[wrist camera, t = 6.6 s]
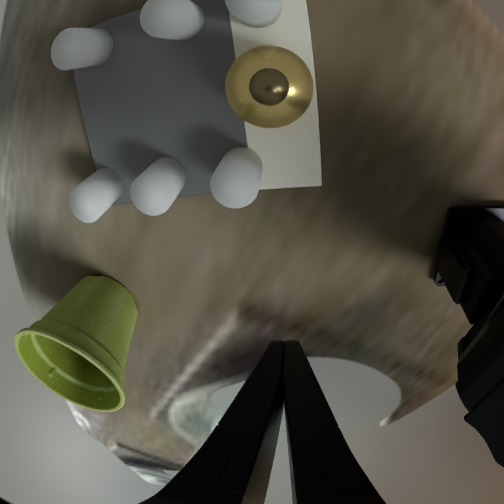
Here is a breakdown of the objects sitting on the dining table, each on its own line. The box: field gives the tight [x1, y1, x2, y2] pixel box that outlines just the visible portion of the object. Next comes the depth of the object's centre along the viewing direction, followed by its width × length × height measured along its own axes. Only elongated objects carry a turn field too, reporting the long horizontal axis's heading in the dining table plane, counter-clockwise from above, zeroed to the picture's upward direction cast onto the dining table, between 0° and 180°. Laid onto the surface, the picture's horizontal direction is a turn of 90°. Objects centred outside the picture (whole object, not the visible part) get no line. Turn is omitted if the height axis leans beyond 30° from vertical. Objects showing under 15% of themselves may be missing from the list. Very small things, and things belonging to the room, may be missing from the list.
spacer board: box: [51, 0, 322, 223], centre depth 15 cm, size 15×12×4 cm
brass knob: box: [225, 46, 314, 128], centre depth 14 cm, size 4×4×3 cm
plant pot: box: [14, 275, 138, 412], centre depth 23 cm, size 9×9×9 cm
